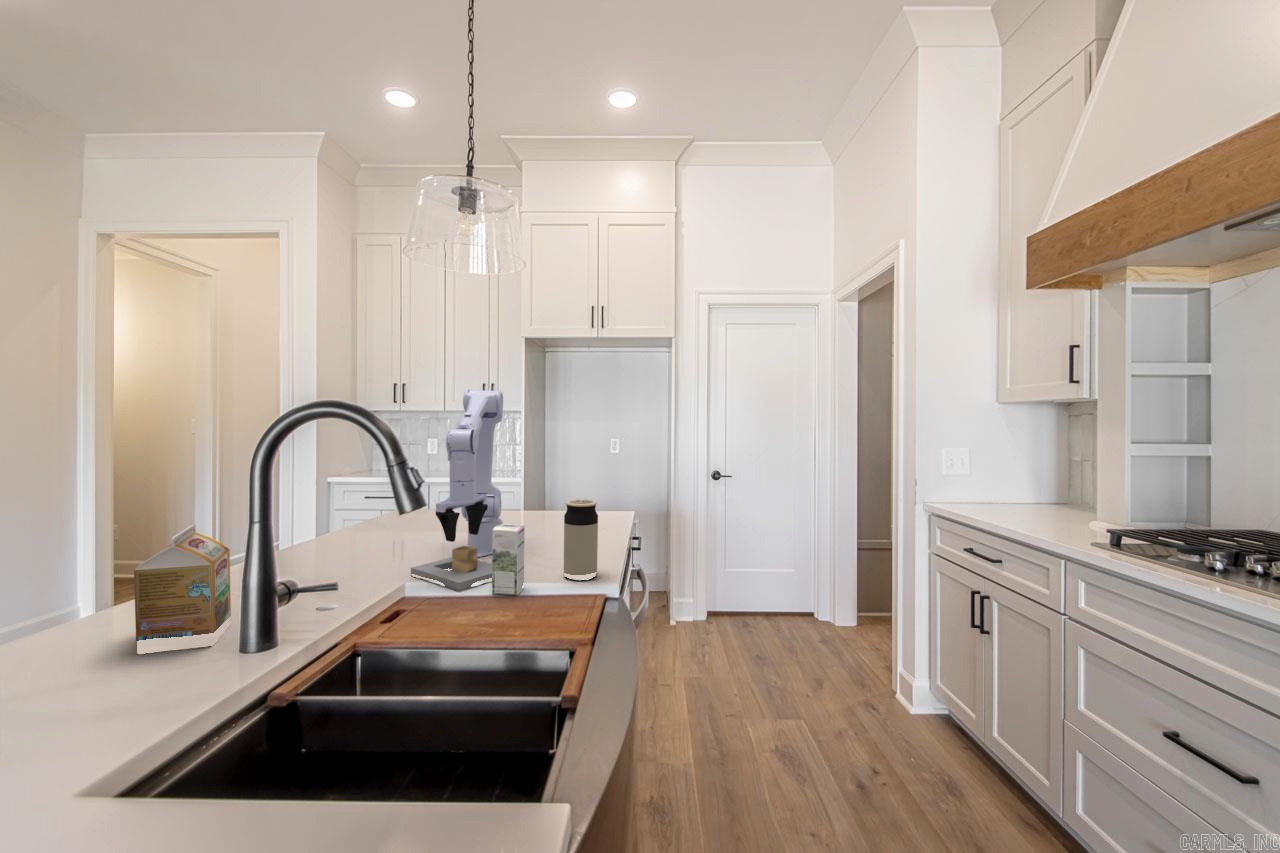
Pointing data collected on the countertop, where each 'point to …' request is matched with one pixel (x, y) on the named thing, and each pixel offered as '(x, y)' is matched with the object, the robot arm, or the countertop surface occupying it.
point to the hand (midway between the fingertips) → (462, 537)
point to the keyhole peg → (464, 559)
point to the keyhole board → (453, 574)
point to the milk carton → (183, 588)
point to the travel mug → (580, 537)
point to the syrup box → (508, 559)
